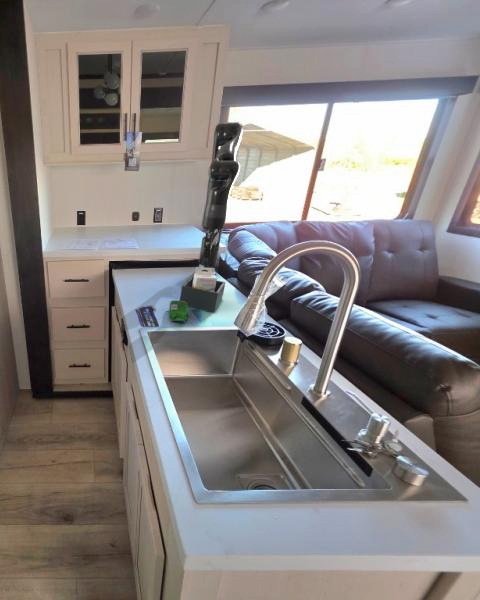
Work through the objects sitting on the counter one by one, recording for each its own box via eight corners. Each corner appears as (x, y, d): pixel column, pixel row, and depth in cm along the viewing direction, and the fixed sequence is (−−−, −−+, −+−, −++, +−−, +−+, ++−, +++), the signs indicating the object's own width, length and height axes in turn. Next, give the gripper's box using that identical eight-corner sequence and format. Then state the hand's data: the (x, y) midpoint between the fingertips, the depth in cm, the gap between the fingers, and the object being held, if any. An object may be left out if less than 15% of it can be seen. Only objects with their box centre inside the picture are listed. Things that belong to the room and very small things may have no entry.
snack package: (168, 324, 120) (169, 312, 118) (168, 307, 134) (170, 296, 132) (187, 327, 119) (189, 315, 116) (186, 310, 132) (188, 298, 130)
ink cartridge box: (192, 302, 137) (197, 270, 131) (190, 297, 142) (194, 266, 136) (212, 303, 137) (218, 271, 131) (209, 298, 141) (215, 267, 135)
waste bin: (189, 293, 149) (192, 275, 146) (221, 300, 142) (225, 281, 138) (179, 304, 137) (181, 285, 134) (214, 312, 130) (217, 293, 126)
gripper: (222, 219, 117) (214, 261, 123) (229, 214, 128) (222, 252, 134) (201, 217, 121) (195, 258, 127) (210, 212, 131) (204, 250, 138)
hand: (209, 255), depth 131 cm, fingers open, 8 cm apart
